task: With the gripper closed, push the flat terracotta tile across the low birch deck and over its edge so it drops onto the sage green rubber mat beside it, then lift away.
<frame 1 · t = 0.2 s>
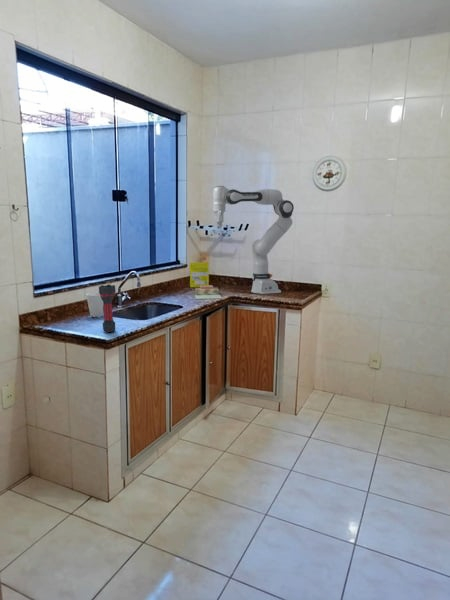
hand: (219, 228, 298), 47 cm above the countertop, tool pointing down, fingers open, 8 cm apart
flashlight: (109, 332, 200), on the countertop
terracotta tile: (206, 288, 302), point 4 cm above the countertop, touching birch deck
food package: (199, 287, 334), on the countertop
birch deck: (206, 294, 302), on the countertop
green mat: (208, 297, 290), on the countertop
foam cup: (96, 316, 233), on the countertop
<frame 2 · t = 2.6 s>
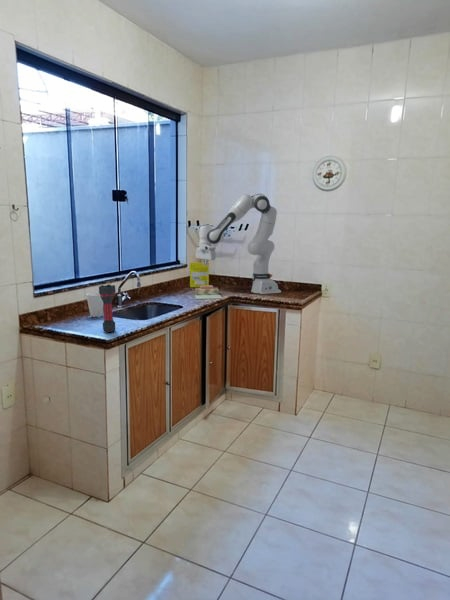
hand: (205, 265, 307), 20 cm above the countertop, tool pointing down, fingers closed
nothing on the countertop moved.
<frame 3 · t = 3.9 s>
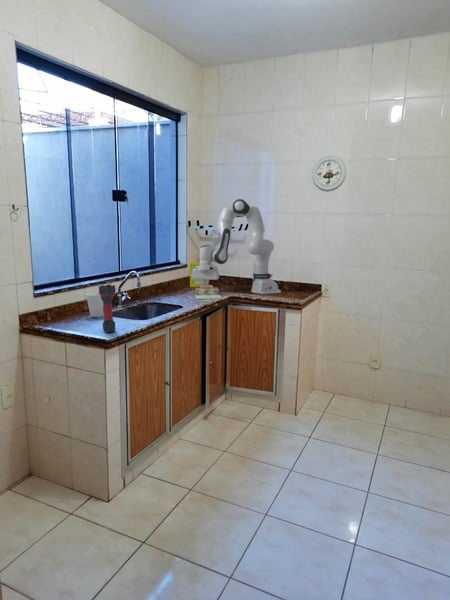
hand: (205, 285, 310), 5 cm above the countertop, tool pointing down, fingers closed
nothing on the countertop moved.
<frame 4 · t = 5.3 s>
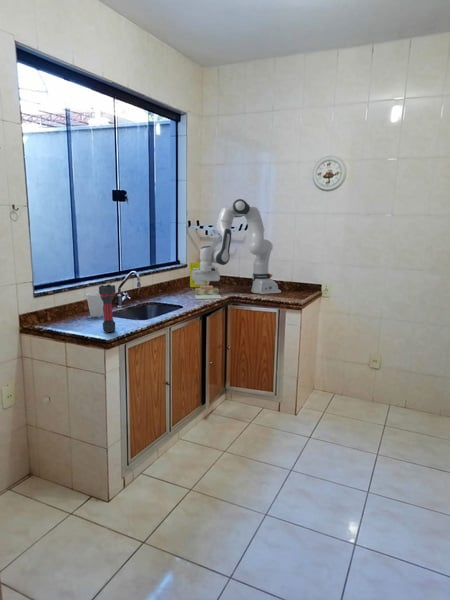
hand: (206, 286, 304), 5 cm above the countertop, tool pointing down, fingers closed
terracotta tile: (206, 289, 300), point 4 cm above the countertop, touching birch deck
everything else where it was.
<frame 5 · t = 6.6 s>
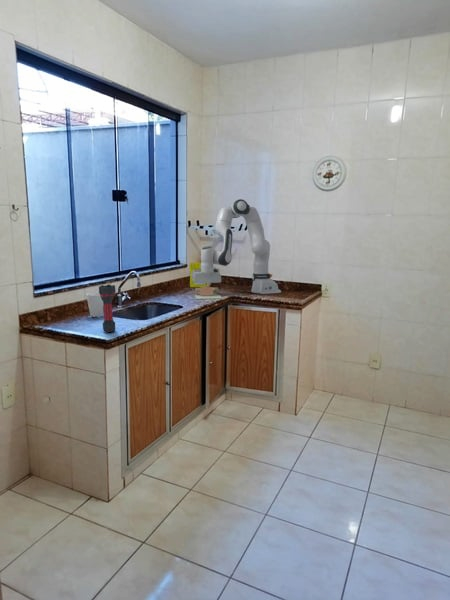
hand: (207, 288, 295), 5 cm above the countertop, tool pointing down, fingers closed
terracotta tile: (206, 291, 294), point 3 cm above the countertop, tilted 76°, touching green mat
everything else where it was.
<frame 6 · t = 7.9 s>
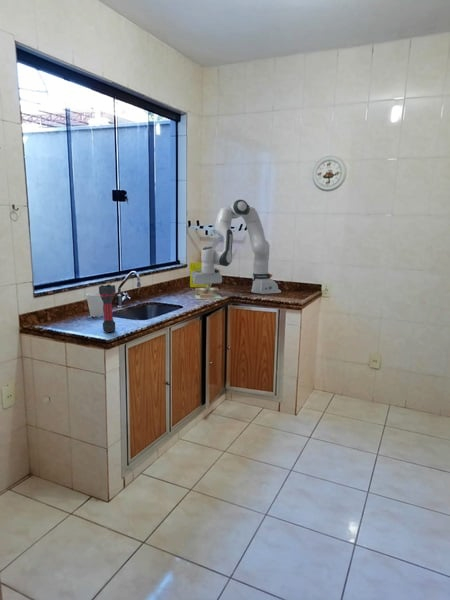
hand: (207, 289, 292), 5 cm above the countertop, tool pointing down, fingers closed
terracotta tile: (206, 294, 288), point 2 cm above the countertop, tilted 180°, touching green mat
everything else where it was.
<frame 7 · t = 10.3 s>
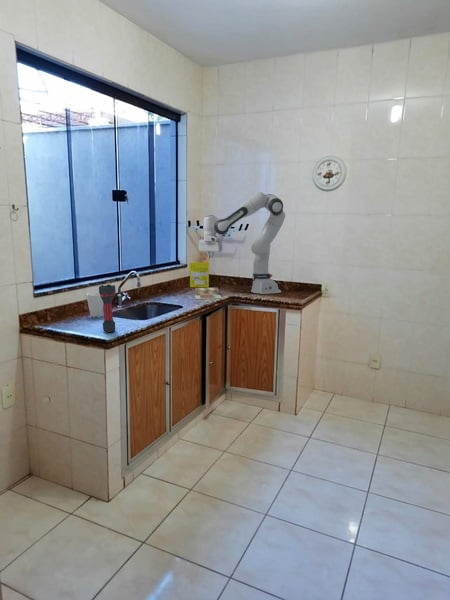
hand: (210, 257, 296), 27 cm above the countertop, tool pointing down, fingers closed
nothing on the countertop moved.
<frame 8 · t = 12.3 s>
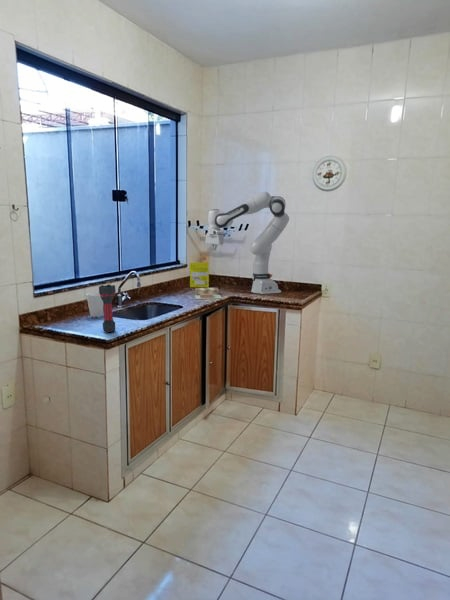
hand: (214, 250, 308), 31 cm above the countertop, tool pointing down, fingers closed
nothing on the countertop moved.
at the end: terracotta tile inside the target area (1.8 cm from its centre), point 2.4 cm above the countertop; terracotta tile point 2.4 cm above the countertop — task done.
